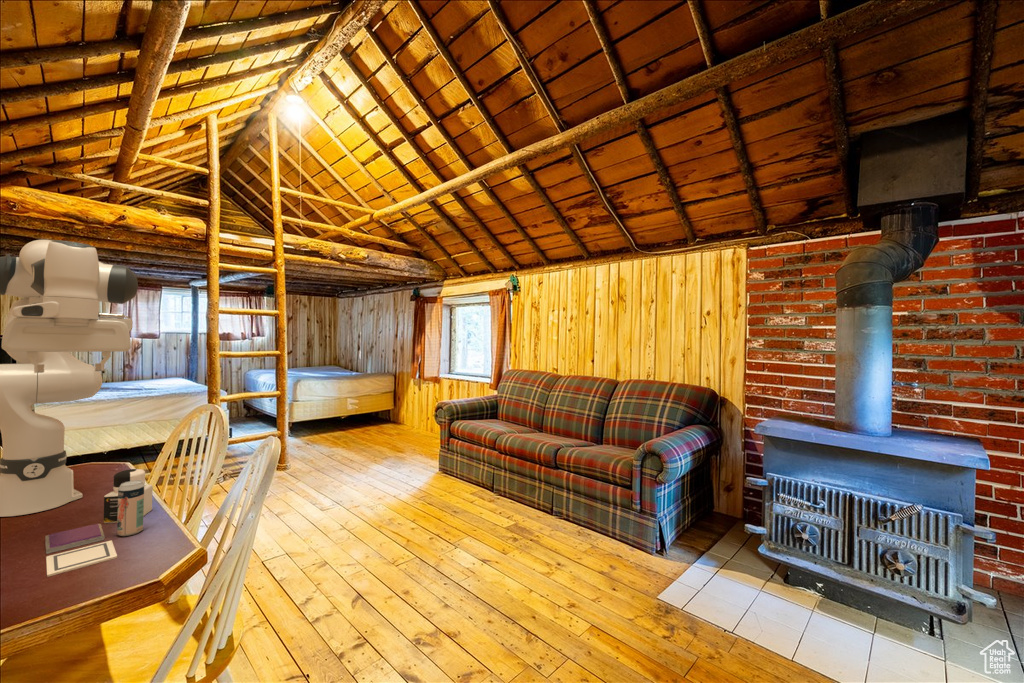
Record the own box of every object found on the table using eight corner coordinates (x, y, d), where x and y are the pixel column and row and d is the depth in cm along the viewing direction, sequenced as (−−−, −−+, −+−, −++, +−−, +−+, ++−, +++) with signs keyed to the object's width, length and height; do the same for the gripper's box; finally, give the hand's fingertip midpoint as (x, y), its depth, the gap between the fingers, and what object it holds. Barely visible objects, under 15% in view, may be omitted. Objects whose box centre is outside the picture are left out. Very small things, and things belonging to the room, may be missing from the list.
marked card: (46, 558, 88) (46, 556, 88) (111, 542, 96) (111, 539, 96) (47, 576, 81) (47, 574, 81) (117, 557, 89) (117, 555, 89)
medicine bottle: (102, 524, 104) (103, 476, 104) (120, 512, 111) (121, 467, 111) (137, 521, 106) (138, 474, 106) (152, 510, 113) (153, 466, 113)
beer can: (117, 531, 100) (118, 482, 100) (143, 526, 104) (145, 478, 104) (115, 539, 97) (117, 487, 97) (143, 533, 100) (144, 483, 100)
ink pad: (45, 540, 96) (45, 534, 96) (100, 527, 102) (100, 522, 102) (46, 554, 90) (46, 548, 90) (104, 539, 96) (104, 534, 96)
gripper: (130, 314, 105) (129, 369, 105) (3, 308, 90) (2, 372, 90) (134, 313, 101) (133, 370, 101) (1, 307, 86) (-1, 374, 86)
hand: (70, 371), depth 96 cm, fingers open, 8 cm apart
